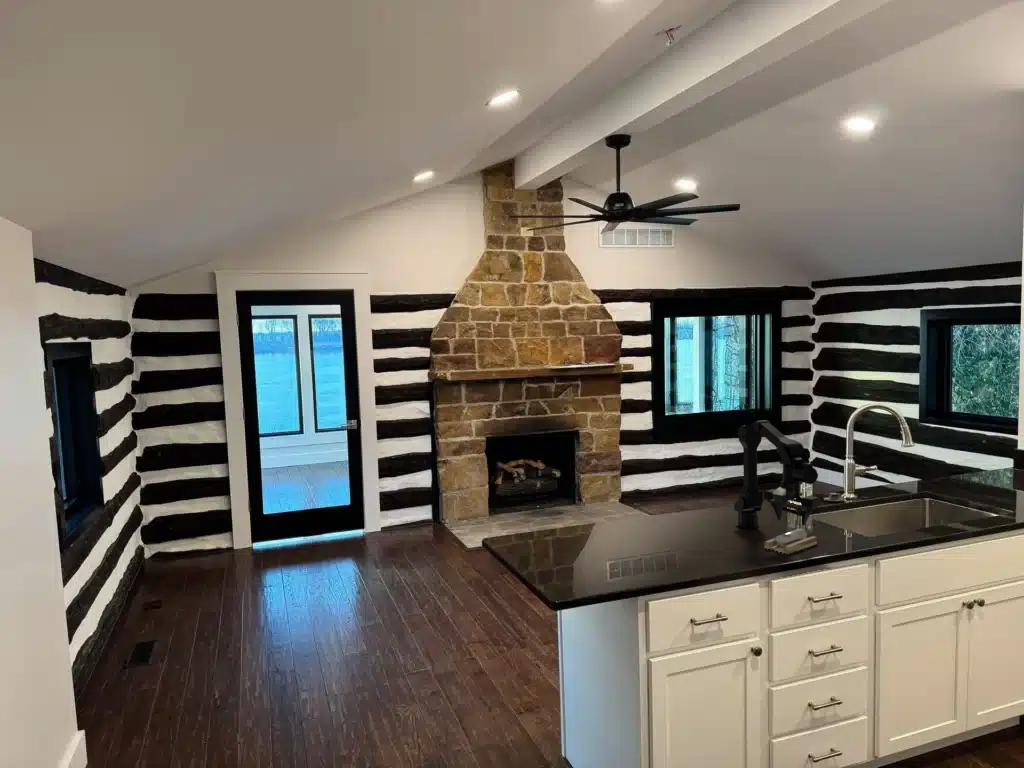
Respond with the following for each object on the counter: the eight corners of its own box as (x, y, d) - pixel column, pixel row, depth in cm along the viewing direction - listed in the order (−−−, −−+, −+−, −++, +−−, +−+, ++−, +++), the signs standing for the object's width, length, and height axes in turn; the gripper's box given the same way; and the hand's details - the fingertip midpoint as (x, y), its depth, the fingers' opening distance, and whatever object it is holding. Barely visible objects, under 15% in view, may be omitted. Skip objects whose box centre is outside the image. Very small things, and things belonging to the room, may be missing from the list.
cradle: (764, 548, 254) (764, 541, 254) (793, 538, 265) (793, 531, 265) (787, 554, 247) (788, 547, 247) (816, 543, 258) (816, 537, 258)
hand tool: (806, 514, 298) (806, 503, 298) (797, 515, 297) (798, 504, 297) (776, 504, 316) (776, 493, 316) (768, 504, 315) (769, 494, 315)
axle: (784, 548, 250) (784, 537, 250) (773, 546, 253) (774, 534, 253) (806, 540, 259) (807, 529, 258) (796, 538, 262) (796, 527, 262)
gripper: (754, 477, 257) (754, 521, 258) (803, 486, 242) (803, 532, 243) (772, 473, 263) (772, 515, 265) (821, 481, 249) (821, 526, 250)
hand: (791, 522), depth 255 cm, fingers open, 9 cm apart
